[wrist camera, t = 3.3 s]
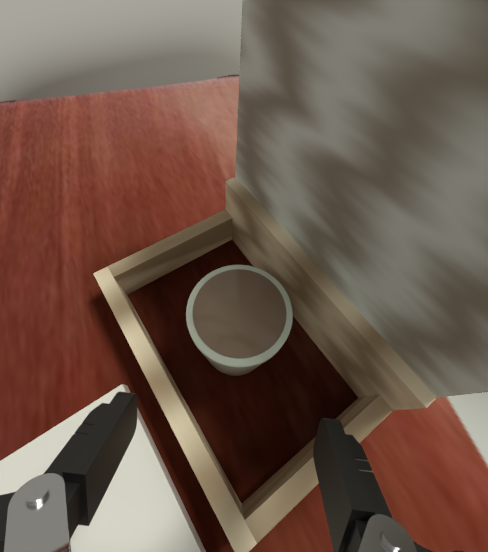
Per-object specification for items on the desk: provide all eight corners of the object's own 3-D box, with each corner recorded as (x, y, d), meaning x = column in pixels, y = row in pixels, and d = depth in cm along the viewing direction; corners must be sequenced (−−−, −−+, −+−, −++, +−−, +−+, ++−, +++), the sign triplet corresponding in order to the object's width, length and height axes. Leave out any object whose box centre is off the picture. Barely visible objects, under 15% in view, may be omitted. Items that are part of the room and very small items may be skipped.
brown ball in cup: (184, 333, 24) (166, 296, 17) (244, 295, 26) (252, 248, 19) (224, 400, 22) (224, 390, 14) (287, 353, 24) (315, 324, 16)
